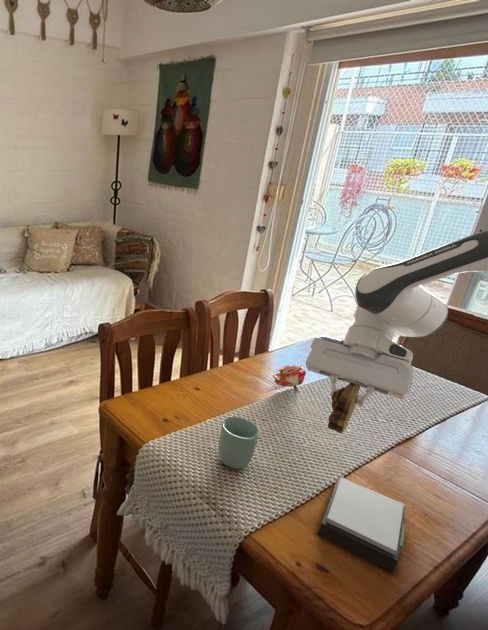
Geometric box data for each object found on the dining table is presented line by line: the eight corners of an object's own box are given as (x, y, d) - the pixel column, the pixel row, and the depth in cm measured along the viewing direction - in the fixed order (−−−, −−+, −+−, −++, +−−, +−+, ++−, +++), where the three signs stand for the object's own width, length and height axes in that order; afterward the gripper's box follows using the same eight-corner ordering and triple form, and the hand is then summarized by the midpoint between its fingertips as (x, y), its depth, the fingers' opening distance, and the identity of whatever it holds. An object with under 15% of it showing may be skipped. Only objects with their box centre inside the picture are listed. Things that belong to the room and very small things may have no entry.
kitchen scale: (403, 518, 89) (410, 503, 87) (395, 574, 77) (403, 558, 76) (334, 487, 96) (339, 473, 94) (317, 534, 84) (323, 519, 83)
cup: (246, 479, 98) (255, 443, 94) (211, 465, 101) (218, 430, 97) (253, 459, 104) (261, 424, 100) (220, 446, 107) (227, 412, 103)
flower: (315, 385, 132) (305, 359, 133) (307, 391, 125) (297, 364, 126) (283, 391, 138) (274, 367, 139) (273, 398, 131) (264, 372, 132)
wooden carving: (334, 407, 104) (339, 369, 101) (357, 412, 102) (363, 373, 99) (322, 441, 92) (327, 399, 89) (347, 448, 90) (354, 405, 87)
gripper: (315, 328, 104) (295, 379, 101) (422, 355, 92) (403, 414, 89) (315, 338, 109) (296, 388, 106) (416, 366, 97) (398, 422, 94)
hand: (346, 400), depth 97 cm, fingers closed on wooden carving, 3 cm apart
